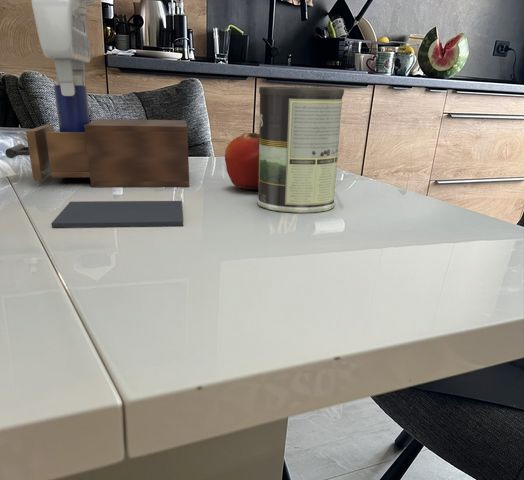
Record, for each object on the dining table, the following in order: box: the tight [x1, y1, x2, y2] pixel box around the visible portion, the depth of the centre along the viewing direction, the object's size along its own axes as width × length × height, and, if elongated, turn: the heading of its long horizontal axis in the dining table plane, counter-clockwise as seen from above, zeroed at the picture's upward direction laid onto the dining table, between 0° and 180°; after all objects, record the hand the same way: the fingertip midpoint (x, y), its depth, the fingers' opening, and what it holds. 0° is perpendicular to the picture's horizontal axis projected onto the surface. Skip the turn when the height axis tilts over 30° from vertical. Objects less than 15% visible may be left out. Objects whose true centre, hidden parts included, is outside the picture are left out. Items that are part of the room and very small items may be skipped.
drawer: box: [4, 124, 90, 181], centre depth 86 cm, size 18×13×7 cm
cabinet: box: [84, 118, 190, 188], centre depth 87 cm, size 15×15×9 cm
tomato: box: [224, 132, 259, 191], centre depth 81 cm, size 9×9×8 cm
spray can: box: [53, 74, 91, 132], centre depth 84 cm, size 5×5×13 cm
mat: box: [50, 200, 184, 229], centre depth 65 cm, size 14×12×1 cm
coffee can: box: [257, 86, 345, 214], centre depth 69 cm, size 10×10×14 cm
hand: (74, 95), depth 82 cm, fingers open, 8 cm apart
